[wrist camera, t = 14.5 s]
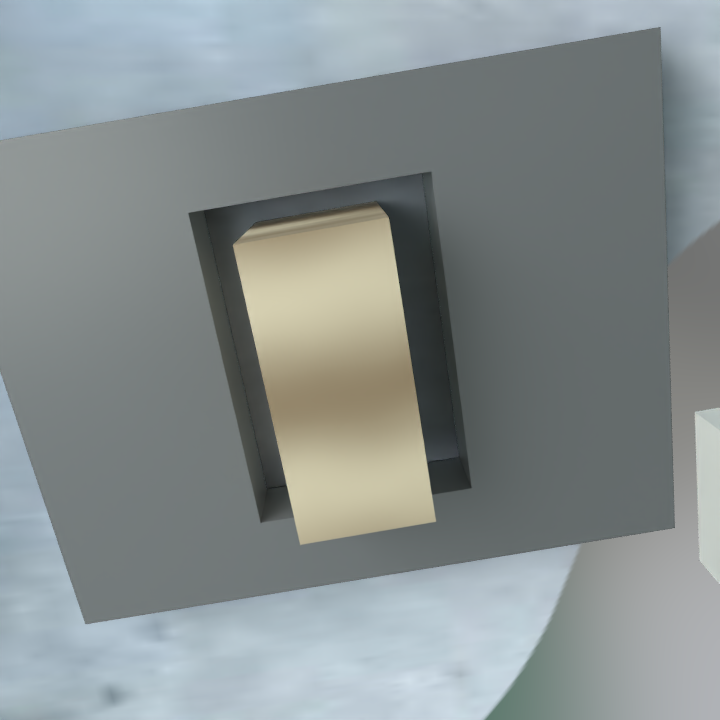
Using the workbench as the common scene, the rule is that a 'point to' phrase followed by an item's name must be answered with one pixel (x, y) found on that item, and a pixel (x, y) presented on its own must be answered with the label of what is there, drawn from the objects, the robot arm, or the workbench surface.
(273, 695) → the workbench surface
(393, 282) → the key block
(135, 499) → the mount plate
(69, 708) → the workbench surface
